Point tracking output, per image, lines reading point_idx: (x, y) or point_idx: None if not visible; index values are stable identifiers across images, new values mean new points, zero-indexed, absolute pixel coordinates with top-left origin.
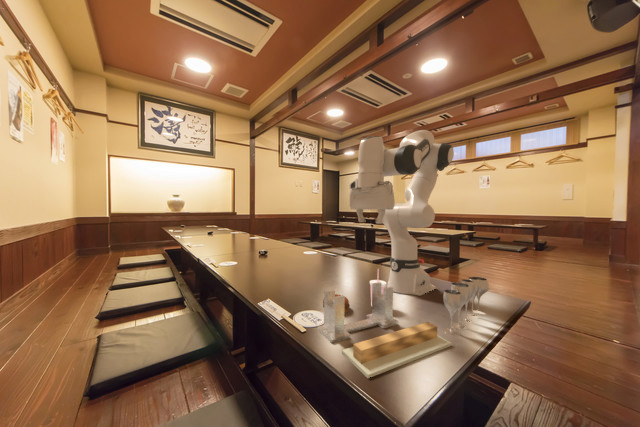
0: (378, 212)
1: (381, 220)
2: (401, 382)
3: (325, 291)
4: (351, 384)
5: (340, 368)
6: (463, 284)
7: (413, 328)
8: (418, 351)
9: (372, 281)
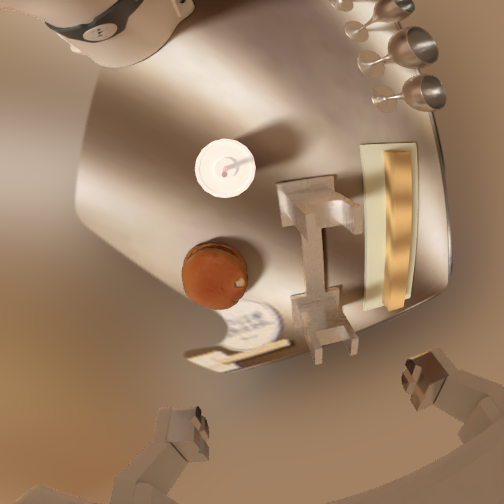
0: (465, 431)
1: (445, 366)
2: (427, 265)
3: (318, 363)
4: (404, 312)
5: (383, 316)
6: (414, 27)
7: (401, 200)
8: (412, 212)
9: (208, 181)
